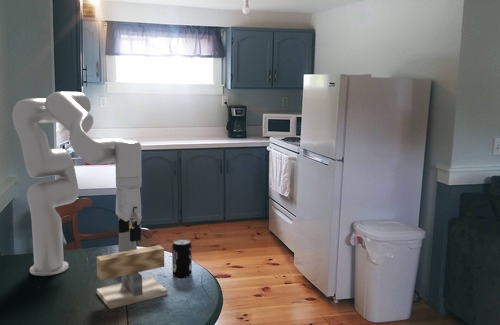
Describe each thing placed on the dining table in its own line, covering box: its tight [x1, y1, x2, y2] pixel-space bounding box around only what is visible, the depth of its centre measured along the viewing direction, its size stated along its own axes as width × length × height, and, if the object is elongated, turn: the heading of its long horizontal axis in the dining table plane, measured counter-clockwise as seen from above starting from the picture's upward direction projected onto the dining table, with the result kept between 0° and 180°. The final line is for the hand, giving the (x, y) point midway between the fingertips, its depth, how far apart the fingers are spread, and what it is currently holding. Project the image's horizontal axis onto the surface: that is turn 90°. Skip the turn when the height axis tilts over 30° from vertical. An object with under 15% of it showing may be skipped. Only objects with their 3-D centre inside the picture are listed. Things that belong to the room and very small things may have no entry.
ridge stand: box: [96, 272, 168, 310], centre depth 143 cm, size 13×18×8 cm
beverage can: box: [171, 238, 193, 279], centre depth 159 cm, size 7×7×12 cm
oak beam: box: [96, 244, 165, 281], centre depth 142 cm, size 20×4×6 cm, turn 125°
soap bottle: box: [117, 223, 138, 253], centre depth 168 cm, size 7×7×18 cm
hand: (129, 236), depth 142 cm, fingers open, 9 cm apart
